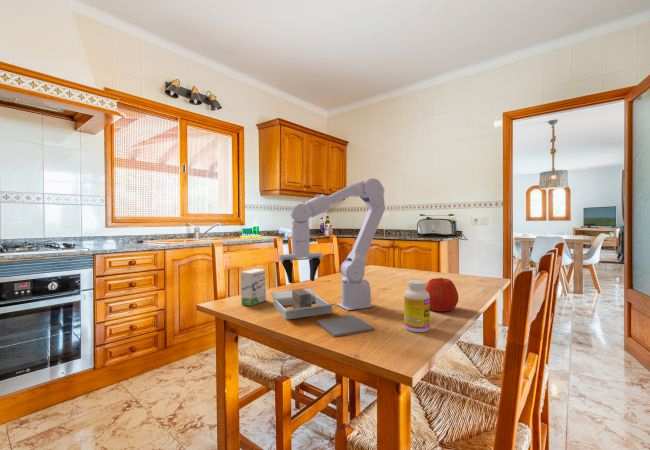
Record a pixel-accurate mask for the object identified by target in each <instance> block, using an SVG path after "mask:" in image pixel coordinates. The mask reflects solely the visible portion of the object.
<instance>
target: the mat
mask: <svg viewBox="0 0 650 450" xmlns="http://www.w3.org/2000/svg"><path fill="white" fill-rule="evenodd" d="M316 323H317V324H318V325H319V326H320V327H321V328H322V329H323V330H325V331H326V332H328V334H329V335H331V336H332V337H334V338H337V337H341V336H342V337H343V336H348V335H353V334H359V333H364V332H369V331H370V332H371V331H375V327H374V326H372V325H371V324H369V323H368V322H366V321H364V320H362V319H361V318H359V317H358V316H356V315H354V314H351V315H345V316H339V317H337V316H336V317H331V318H326V319H317V320H316Z"/></svg>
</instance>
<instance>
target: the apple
mask: <svg viewBox="0 0 650 450" xmlns="http://www.w3.org/2000/svg"><path fill="white" fill-rule="evenodd" d="M455 285H456V284H454V282H453V281H452V280H451V279H449V278H442V277H437V278H431V279H429V280H428V282H427V283H426V288H425V291H427V292H428V293H429V295H430V311H432V312H449V311H452V310H454V309H455V308H456V307H457V305H458V303H459V292H458V290H457V287H456V286H455Z"/></svg>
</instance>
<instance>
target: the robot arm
mask: <svg viewBox="0 0 650 450" xmlns="http://www.w3.org/2000/svg"><path fill="white" fill-rule="evenodd" d="M384 194H385V188H384V186H383V184H382V183H381V181H380V180H379V179H377V178H373V177H372V178H369V179H367V180H362V181H359V182H356V183H352V184H349V185H348V186H346V187H344V188H342V189H340V190H338V191H335V192H334V193H332V194H330V195H325V194H323V193H322V194H320V193H319V194H316V195H315V194H314V197H313V198H311V199H308V200H303V201H302V202H301V203H299V204H297V205H295V206H294V207H293V208H292V210H291V213H290V216H291V219H292V222H291V223H292V227H291V243H292V244H291V245H292V247H291V249H292V251H291V252H292V253H288V254H287V253H286V254H279V255H278V261H279V262H281V264H282V266H283V268H284V270H285V273H286V277H287V281H288V283H289V284H293V262H292V261H303V260H304V261H305V260H308V263H309V280H310V281H311V282H315V278H316V274H317V271H318V269H319V266H320V265H321V260H322V259H323V252H311V251H310V225H309V223H310V222H309V220H310V218H315V217H317V216H319V215H321V214H323V213H326V212H327V211H329V210H331V206H332V205H333V204H336V203H338V202H340V201H342V200H345V199H347V198H350V197H356V198H357V197H359V198H360V199H361V200H362V201H363V202H364V203H365V205H366V208H367V209H368V210H367V213H366V215H365V218H364V220H363V223H362V225H361V228H360V229H359V233H358V235H357V237H356V239H355V242H354V245H353V247H352V250H351V251H350V252H349V253H348V255H347V257H346V259H345V260H344V261H343V262H342V263H341V265H340V266H339V267H340V272H341V274H342V275H343V276H342V278H341V302H337V305H336V306H339V307H341V308H343V310H346V311H354V310H361V309H367V308H368V309H369V308H372V307H373V305H372V303H371V302H372V300H371V299H372V297H371V292H372V291H371V290H372V289H371V286H370V283H369V281H368V280H367V279H363V278H364V276H365V274H366V273H365V269H366V268H365V267H366V265H367V259H366V258H367V254H368V253H369V249H370V247H371V245H372V242H373V239H374V237H375V234H376V232H377V230H378V227H379V225H380V223H381V220H382V217H383V215H384V213H385V210H386V209H385V208H386V205H385V195H384Z"/></svg>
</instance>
